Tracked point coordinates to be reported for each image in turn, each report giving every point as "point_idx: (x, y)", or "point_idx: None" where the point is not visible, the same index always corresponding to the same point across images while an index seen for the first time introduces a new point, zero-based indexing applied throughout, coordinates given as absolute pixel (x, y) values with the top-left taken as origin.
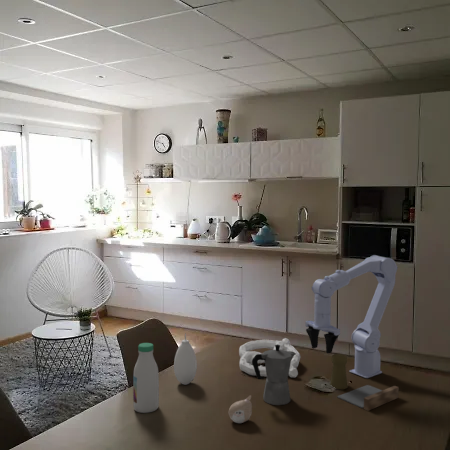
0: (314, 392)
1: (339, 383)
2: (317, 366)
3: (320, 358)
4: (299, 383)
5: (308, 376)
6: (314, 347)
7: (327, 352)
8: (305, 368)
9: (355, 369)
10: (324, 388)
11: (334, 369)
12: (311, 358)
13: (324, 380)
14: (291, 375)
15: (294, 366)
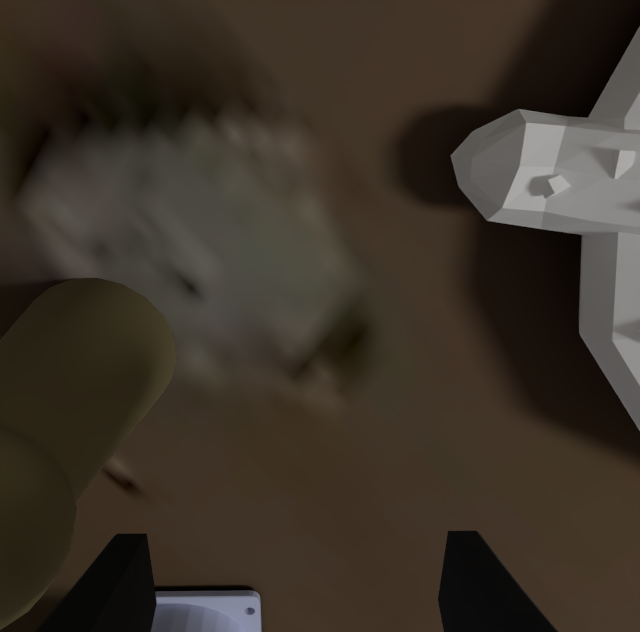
0: (86, 36)
1: (15, 323)
2: (496, 507)
3: (576, 622)
4: (349, 93)
5: (409, 300)
6: (448, 561)
7: (112, 543)
8: (543, 410)
9: (209, 628)
10: (117, 204)
11: (11, 379)
12: (629, 581)
13: (256, 343)
14: (498, 119)
15: (584, 271)
